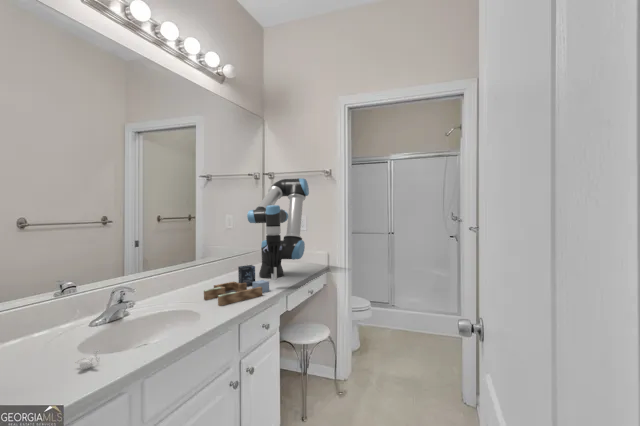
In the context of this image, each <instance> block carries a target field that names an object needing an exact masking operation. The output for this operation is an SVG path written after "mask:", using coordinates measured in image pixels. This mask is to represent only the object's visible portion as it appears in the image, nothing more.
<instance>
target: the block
mask: <svg viewBox="0 0 640 426" xmlns="http://www.w3.org/2000/svg"><path fill="white" fill-rule="evenodd" d="M251 286H252V288H257V287H262V294H263V293H264V294H265V293H267V292H270V282H269V281H268V280H265V279H261V280H260V279H259V280H255V282H252V285H251ZM252 288H251V289H252Z"/></svg>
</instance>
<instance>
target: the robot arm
mask: <svg viewBox="0 0 640 426" xmlns="http://www.w3.org/2000/svg"><path fill="white" fill-rule="evenodd" d="M308 183H309V182H308V181H307V179H305V178H304V177H303V178H302V177H299V178H283V179H279V180H277V181H276V182H275V183H273V184H272V185H271V186H270V187H269V188H268V191H267V194H265V196H264V197H263V199H262V200H261V201H260V203H259V204H258V205H257V207H256V208H255V209H250V210H248V212H247V216H246V217H247V221H248V222H249V223H250V224H265V234H266V236H265V239H264V240H262V241H261V245H260V246H261V247H260V249H261V265H260V269H259V272H258V275H259V276H258V277H260V278H263V279H271V280H272V281H276V280H278V279H277V278H281V277H284V270H283V267H282V260H294V261H295V260H300V259H301V258H303V255H304V252H305V245H306V244H305V241H304V240H303V238H302V236H301V229H302V228H301V227H302V226H301V225H302V215H303V205H304V204H303V203H304V201H305V200H306V197H308V196H309V194H310V191H309V190H310V189H309V184H308ZM284 197H287V199H289V204H288V205H289V207H288V212H287V210H285V209H282V208H281V206H280V205H279V204H278V205H276V204H277V202H278V200H280V199H281V198H284ZM286 221H287V225H286V226H287V227H286V235H284V236H283V239H282V237H281V224H283V223H286ZM281 239H282V240H281Z"/></svg>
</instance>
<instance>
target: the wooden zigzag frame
mask: <svg viewBox="0 0 640 426" xmlns="http://www.w3.org/2000/svg"><path fill="white" fill-rule="evenodd" d="M262 296H263V293H262V287H257V288H249V289H248V286H247V283H239V282H237V281H229V282H225V283H220V284H215V285H213V288H208V289H204V290H203V300H204V301H208V300H212V299H213V300H214V299H216V298H217V305H218V306H219V307H221V306H227V305H229V304H233V303H238V302H242V301H246V300H249V299H254V298H258V297H262Z"/></svg>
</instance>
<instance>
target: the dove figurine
mask: <svg viewBox="0 0 640 426" xmlns="http://www.w3.org/2000/svg"><path fill="white" fill-rule="evenodd" d="M99 352H100V349H97V350H96V349H93V352H92V355H91V356H87V357H81V358H80V359H79V360H77V361H74V363H75V364H79V368H80V369H81V370H88V369H90V368H91V366H100V362H101V361H100V356H99V357H98V353H99Z"/></svg>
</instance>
